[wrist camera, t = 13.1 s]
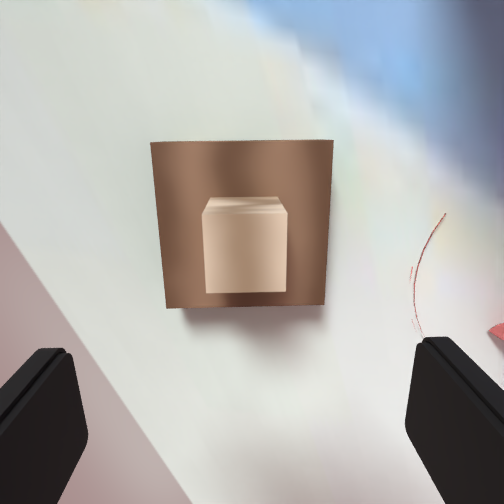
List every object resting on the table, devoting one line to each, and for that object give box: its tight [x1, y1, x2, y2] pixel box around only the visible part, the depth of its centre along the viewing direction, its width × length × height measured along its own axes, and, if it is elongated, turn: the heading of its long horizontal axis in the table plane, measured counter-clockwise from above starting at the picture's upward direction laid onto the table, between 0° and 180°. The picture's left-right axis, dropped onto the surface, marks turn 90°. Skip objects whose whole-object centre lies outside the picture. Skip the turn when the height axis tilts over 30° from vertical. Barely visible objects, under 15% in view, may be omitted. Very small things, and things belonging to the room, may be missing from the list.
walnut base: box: [150, 140, 334, 309], centre depth 29 cm, size 13×13×4 cm
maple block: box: [202, 197, 288, 293], centre depth 24 cm, size 5×5×6 cm
